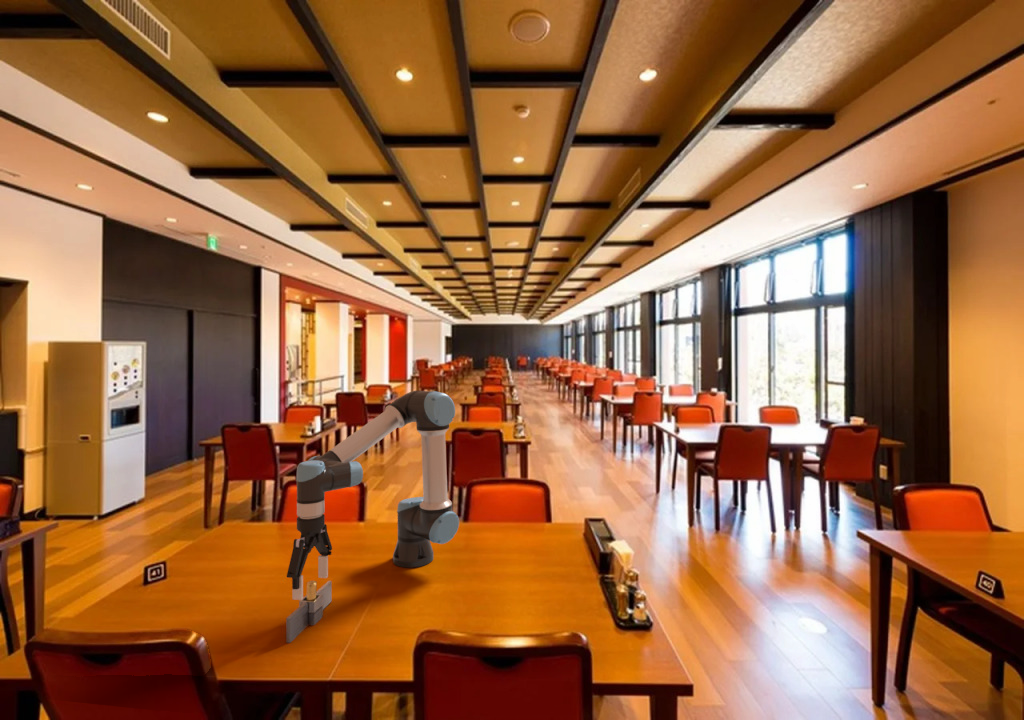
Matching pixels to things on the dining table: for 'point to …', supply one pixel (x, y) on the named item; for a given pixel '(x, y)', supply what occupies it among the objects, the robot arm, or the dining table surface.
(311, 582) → the pin
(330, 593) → the leaf
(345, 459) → the robot arm
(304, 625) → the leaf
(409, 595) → the dining table surface
